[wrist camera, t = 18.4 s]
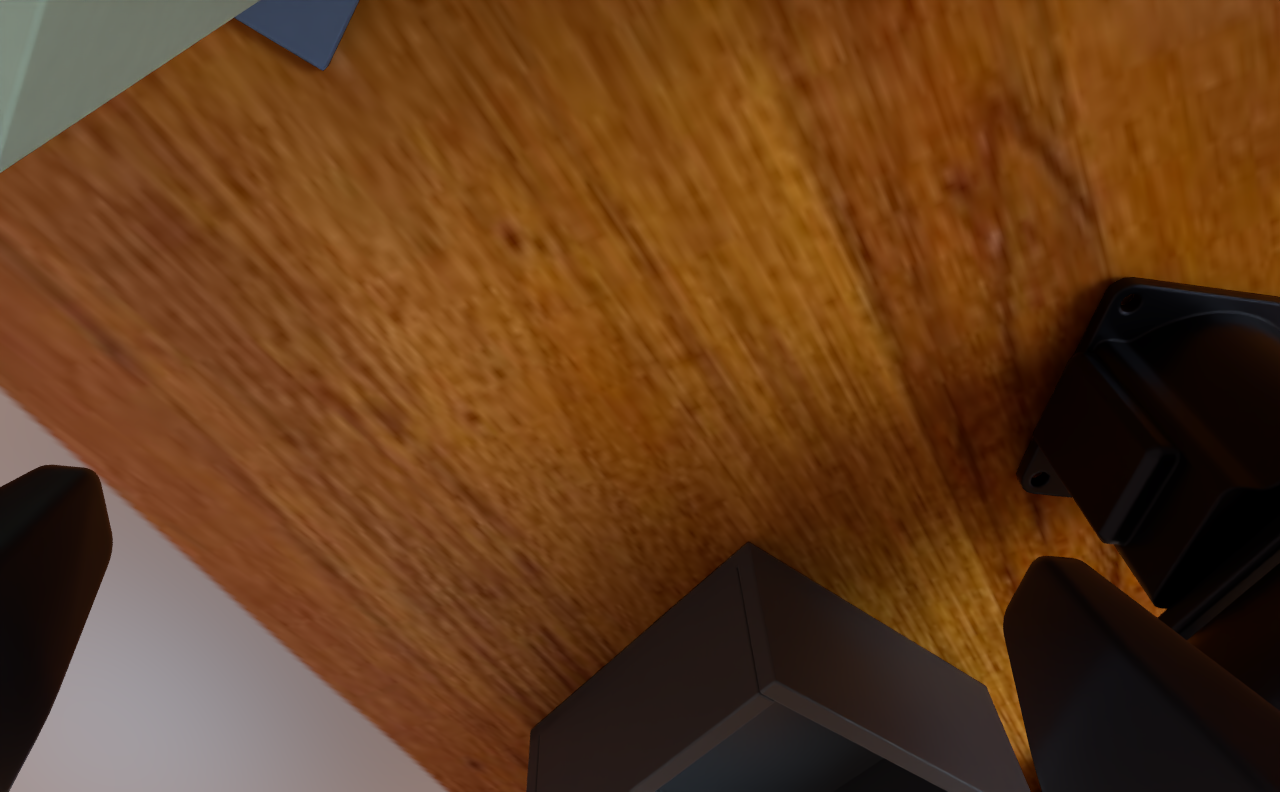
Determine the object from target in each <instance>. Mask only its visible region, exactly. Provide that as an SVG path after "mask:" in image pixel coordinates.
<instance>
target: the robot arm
mask: <svg viewBox="0 0 1280 792" xmlns="http://www.w3.org/2000/svg"><path fill="white" fill-rule="evenodd" d="M1130 294H1134V296H1133V298H1132V299H1131V300H1130V301H1129V302H1127V303H1126V304H1121V302H1122V301H1123V299H1124V298H1125V297H1127V296H1129V295H1130ZM1038 473H1041V474H1040V475H1039V476H1037V477H1033V476H1034V475H1036V474H1038ZM1016 475H1017V479H1018V481H1019V482H1020V484H1021V486H1022V487H1023V489H1024V490H1026V491H1027V492H1029V493H1033V494H1042V495H1052V496H1062V497H1071V498H1073V499H1074V500H1075V502H1076V503H1077V505H1078V507H1079V508H1080V510H1081V511H1082V513H1083V514H1084V516H1085V517H1086V519H1087V520H1088V522H1089V523H1090V525H1091V526H1092V528H1093V529H1094V531H1095V532H1096V534H1097V536H1098V537H1099V539H1100V540H1101V541H1102V542H1103V543H1107V544H1114V546H1115V547H1116V549H1117V550H1118V552H1119V553H1120V555H1121V556H1122V558H1123V559H1124V561H1125V562H1126V564H1127V565H1128V567H1129V568H1130V570H1131V571H1132V573H1133V574H1134V576H1135V577H1136V579H1137V580H1138V582H1139V583H1140V585H1141V586H1142V588H1143V589H1144V591H1145V592H1146V594H1147V595H1148V597H1149V598H1150V600H1151V601H1152V603H1153V604H1154V606H1156V607H1159V608H1166V609H1167V610H1166V611H1164V612H1163V613H1162V614H1161V615H1160V616H1159V617H1158V618H1157V617H1155V616H1154V615H1153V614H1151V613H1150V612H1149V611H1148V610H1146V609H1145V608H1144V607H1142V606H1141V605H1140V604H1138V603H1137V602H1136V601H1134V600H1133V599H1132V598H1130V597H1129V596H1128V595H1126V594H1125V593H1124V592H1123V591H1121V590H1120V589H1119V588H1117V587H1116V586H1115V585H1113V584H1112V583H1111V582H1109V581H1108V580H1107V579H1105V578H1104V577H1103V576H1101V575H1100V574H1099V573H1097V572H1096V571H1095V570H1094V569H1092V568H1091V567H1090V566H1088V565H1087V564H1086V563H1084V562H1083V561H1080V560H1078V559H1074V558H1065V557H1054V556H1042V557H1039V558H1037V559H1036V560H1034V561H1033V562H1032V564H1031V565H1030V567H1029V568H1028V570H1027V572H1026V574H1025V576H1024V577H1023V579H1022V581H1021V583H1020V585H1019V587H1018V588H1017V590H1016V592H1015V594H1014V596H1013V598H1012V599H1011V601H1010V603H1009V605H1008V607H1007V609H1006V612H1005V616H1004V622H1003V630H1004V637H1005V641H1006V646H1007V650H1008V655H1009V659H1010V663H1011V668H1012V672H1013V677H1014V681H1015V685H1016V690H1017V694H1018V698H1019V703H1020V707H1021V712H1022V716H1023V720H1024V725H1025V729H1026V733H1027V738H1028V742H1029V747H1030V751H1031V755H1032V758H1033V762H1034V766H1035V770H1036V774H1037V777H1038V780H1039V783H1040V786H1041V790H1042V792H1280V297H1276V296H1269V295H1261V294H1254V293H1246V292H1239V291H1232V290H1224V289H1217V288H1209V287H1202V286H1195V285H1187V284H1180V283H1172V282H1165V281H1158V280H1150V279H1143V278H1135V277H1126V278H1122V279H1120V280H1117V281H1116V282H1114V283H1113V284H1112V285H1110V286H1109V287H1108V289H1107V290H1106V292H1105V293H1104V295H1103V297H1102V299H1101V301H1100V303H1099V305H1098V307H1097V309H1096V311H1095V313H1094V315H1093V317H1092V319H1091V321H1090V323H1089V325H1088V327H1087V329H1086V331H1085V333H1084V335H1083V337H1082V339H1081V341H1080V343H1079V345H1078V347H1077V349H1076V352H1075V354H1074V356H1073V357H1072V358H1071V359H1070V360H1069V361H1068V363H1067V365H1066V367H1065V369H1064V371H1063V374H1062V376H1061V378H1060V380H1059V382H1058V384H1057V386H1056V388H1055V390H1054V392H1053V394H1052V396H1051V398H1050V400H1049V402H1048V404H1047V406H1046V408H1045V410H1044V412H1043V414H1042V416H1041V418H1040V420H1039V422H1038V424H1037V426H1036V428H1035V430H1034V432H1033V438H1032V440H1031V442H1030V444H1029V446H1028V448H1027V450H1026V452H1025V454H1024V456H1023V458H1022V461H1021V463H1020V465H1019V467H1018V469H1017V473H1016ZM112 541H113V538H112V531H111V527H110V522H109V518H108V513H107V508H106V504H105V499H104V495H103V490H102V486H101V482H100V479H99V477H98V475H97V474H96V473H95V472H94V471H93V470H90V469H88V468H82V467H71V466H60V465H44V466H40V467H38V468H36V469H34V470H32V471H30V472H28V473H26V474H24V475H22V476H20V477H19V478H17V479H15V480H13V481H11V482H9V483H7V484H5V485H3V486H2V487H0V792H9V790H10V789H11V787H12V785H13V783H14V781H15V779H16V777H17V775H18V773H19V771H20V770H21V768H22V766H23V764H24V762H25V760H26V758H27V756H28V755H29V753H30V751H31V749H32V747H33V745H34V743H35V741H36V739H37V737H38V735H39V733H40V731H41V729H42V727H43V725H44V723H45V721H46V719H47V717H48V715H49V713H50V711H51V708H52V706H53V704H54V701H55V699H56V697H57V694H58V692H59V690H60V687H61V684H62V682H63V679H64V677H65V674H66V672H67V669H68V667H69V664H70V661H71V659H72V656H73V653H74V651H75V649H76V646H77V643H78V641H79V638H80V636H81V633H82V630H83V628H84V625H85V623H86V620H87V618H88V615H89V612H90V610H91V607H92V605H93V602H94V600H95V597H96V595H97V592H98V590H99V587H100V584H101V582H102V579H103V577H104V574H105V571H106V569H107V567H108V564H109V561H110V557H111V553H112V545H113V544H112V543H113V542H112Z"/></svg>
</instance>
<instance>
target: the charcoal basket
mask: <svg viewBox="0 0 1280 792" xmlns="http://www.w3.org/2000/svg"><path fill="white" fill-rule="evenodd" d="M526 792H1031V791H1030V789H1029V786H1028V784H1027V782H1026V779H1025V777H1024V775H1023V772H1022V770H1021V768H1020V765H1019V763H1018V760H1017V758H1016V756H1015V753H1014V751H1013V749H1012V746H1011V744H1010V742H1009V739H1008V737H1007V735H1006V732H1005V730H1004V728H1003V725H1002V723H1001V720H1000V718H999V716H998V713H997V711H996V709H995V706H994V704H993V702H992V699H991V697H990V694H989V692H988V690H987V687H986V686H985V685H983V684H982V683H980V682H978V681H977V680H975V679H973V678H972V677H970V676H968V675H967V674H965V673H964V672H962V671H960V670H959V669H957V668H955V667H954V666H952V665H950V664H949V663H947V662H945V661H944V660H942V659H940V658H939V657H937V656H936V655H934V654H932V653H931V652H929V651H927V650H926V649H924V648H922V647H921V646H919V645H917V644H916V643H914V642H912V641H911V640H909V639H908V638H906V637H904V636H903V635H901V634H899V633H898V632H896V631H894V630H893V629H891V628H889V627H888V626H886V625H884V624H883V623H881V622H880V621H878V620H876V619H875V618H873V617H871V616H870V615H868V614H866V613H865V612H863V611H861V610H860V609H858V608H856V607H855V606H853V605H852V604H850V603H848V602H847V601H845V600H843V599H842V598H840V597H838V596H837V595H835V594H833V593H832V592H830V591H828V590H827V589H825V588H824V587H822V586H820V585H819V584H817V583H815V582H814V581H812V580H810V579H809V578H807V577H805V576H804V575H802V574H800V573H799V572H797V571H796V570H794V569H792V568H791V567H789V566H787V565H786V564H784V563H782V562H781V561H779V560H777V559H776V558H774V557H772V556H771V555H769V554H768V553H766V552H764V551H763V550H761V549H759V548H758V547H756V546H754V545H753V544H751V543H749V542H748V543H746V544H745V545H744V546H743V547H742V548H741V549H739V550H738V551H737V552H736V553H735V554H734V555H732V556H731V557H730V558H729V559H728V560H727V561H726V562H724V563H723V564H722V565H721V566H720V567H719V568H717V569H716V570H715V571H714V572H713V573H712V574H711V575H709V576H708V577H707V578H706V579H705V580H704V581H702V582H701V583H700V584H699V585H698V586H697V587H696V588H694V589H693V590H692V591H691V592H690V593H689V594H687V595H686V596H685V597H684V598H683V599H682V600H681V601H679V602H678V603H677V604H676V605H675V606H674V607H672V608H671V609H670V610H669V611H668V612H667V613H666V614H664V615H663V616H662V617H661V618H660V619H659V620H657V621H656V622H655V623H654V624H653V625H652V626H651V627H649V628H648V629H647V630H646V631H645V632H644V633H643V634H641V635H640V636H639V637H638V638H637V639H636V640H634V641H633V642H632V643H631V644H630V645H629V646H628V647H626V648H625V649H624V650H623V651H622V652H621V653H619V654H618V655H617V656H616V657H615V658H614V659H613V660H611V661H610V662H609V663H608V664H607V665H606V666H604V667H603V668H602V669H601V670H600V671H599V672H598V673H596V674H595V675H594V676H593V677H592V678H591V679H589V680H588V681H587V682H586V683H585V684H584V685H583V686H581V687H580V688H579V689H578V690H577V691H576V692H574V693H573V694H572V695H571V696H570V697H569V698H568V699H566V700H565V701H564V702H563V703H562V704H561V705H559V706H558V707H557V708H556V709H555V710H554V711H553V712H551V713H550V714H549V715H548V716H547V717H546V718H544V719H543V720H542V721H541V722H540V723H539V724H538V725H536V726H535V727H534V728H533V729H532V730H531V732H530V748H529V762H528V776H527V790H526Z"/></svg>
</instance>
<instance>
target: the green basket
mask: <svg viewBox="0 0 1280 792" xmlns="http://www.w3.org/2000/svg"><path fill="white" fill-rule="evenodd" d="M258 1H260V0H0V173H1V172H2V171H4V170H5V169H7V168H8V167H10V166H11V165H13V164H14V163H16V162H17V161H19V160H21V159H22V158H24V157H25V156H27V155H28V154H30V153H31V152H33V151H34V150H36V149H37V148H39V147H40V146H42V145H43V144H45V143H46V142H48V141H49V140H51V139H52V138H54V137H55V136H57V135H58V134H60V133H61V132H63V131H64V130H66V129H67V128H69V127H70V126H72V125H73V124H75V123H76V122H78V121H79V120H81V119H82V118H84V117H85V116H87V115H88V114H90V113H91V112H93V111H94V110H96V109H97V108H99V107H100V106H102V105H103V104H105V103H106V102H108V101H109V100H111V99H112V98H114V97H115V96H117V95H118V94H120V93H121V92H123V91H124V90H126V89H127V88H129V87H130V86H132V85H133V84H135V83H136V82H138V81H139V80H141V79H142V78H144V77H145V76H147V75H148V74H150V73H151V72H153V71H154V70H156V69H157V68H159V67H160V66H162V65H163V64H165V63H166V62H168V61H169V60H171V59H172V58H174V57H175V56H177V55H178V54H180V53H181V52H183V51H184V50H186V49H187V48H189V47H190V46H192V45H193V44H195V43H196V42H198V41H199V40H201V39H202V38H204V37H206V36H207V35H209V34H210V33H212V32H213V31H215V30H216V29H218V28H219V27H221V26H222V25H224V24H225V23H227V22H228V21H230V20H231V19H233V18H234V17H236V16H237V15H239V14H240V13H242V12H243V11H245V10H246V9H248V8H249V7H251V6H252V5H254V4H255V3H257V2H258Z"/></svg>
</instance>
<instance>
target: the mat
mask: <svg viewBox="0 0 1280 792" xmlns="http://www.w3.org/2000/svg"><path fill="white" fill-rule="evenodd" d="M358 2H359V0H260V1H258V2H257V3H255V4H254V5H252V6H251V7H249V8H248V9H246V10H245V11H243V12H242V13H240V14H239V15H237V16H236V17H234V18H235V19H237V20H238V21H240V22H242V23H244V24H245V25H247V26H249V27H250V28H252V29H254V30H255V31H257V32H259V33H260V34H262V35H264V36H265V37H267V38H269V39H270V40H272V41H274V42H275V43H277V44H279V45H280V46H282V47H284V48H285V49H287V50H289V51H290V52H292V53H294V54H295V55H297V56H299V57H300V58H302V59H304V60H305V61H307V62H309V63H310V64H312V65H314V66H315V67H317V68H319V69H320V70H323V71H324V70H325V69H326V68H327V67H328V66H329V64H330V61H331V59H332V57H333V55H334V53H335V51H336V49H337V47H338V44H339V42H340V40H341V38H342V36H343V34H344V32H345V30H346V28H347V25H348V23H349V21H350V19H351V17H352V15H353V13H354V11H355V8H356V6H357V4H358Z"/></svg>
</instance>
